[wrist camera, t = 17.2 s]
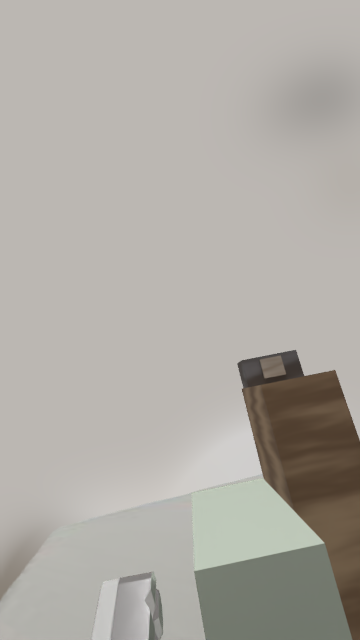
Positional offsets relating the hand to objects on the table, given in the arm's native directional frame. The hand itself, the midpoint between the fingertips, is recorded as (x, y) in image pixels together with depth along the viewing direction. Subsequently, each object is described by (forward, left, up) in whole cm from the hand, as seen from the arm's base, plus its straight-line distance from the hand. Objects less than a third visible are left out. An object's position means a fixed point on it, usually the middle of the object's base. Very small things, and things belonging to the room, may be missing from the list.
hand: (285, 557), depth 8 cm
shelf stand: (-27, -16, -20) cm, 37 cm away
